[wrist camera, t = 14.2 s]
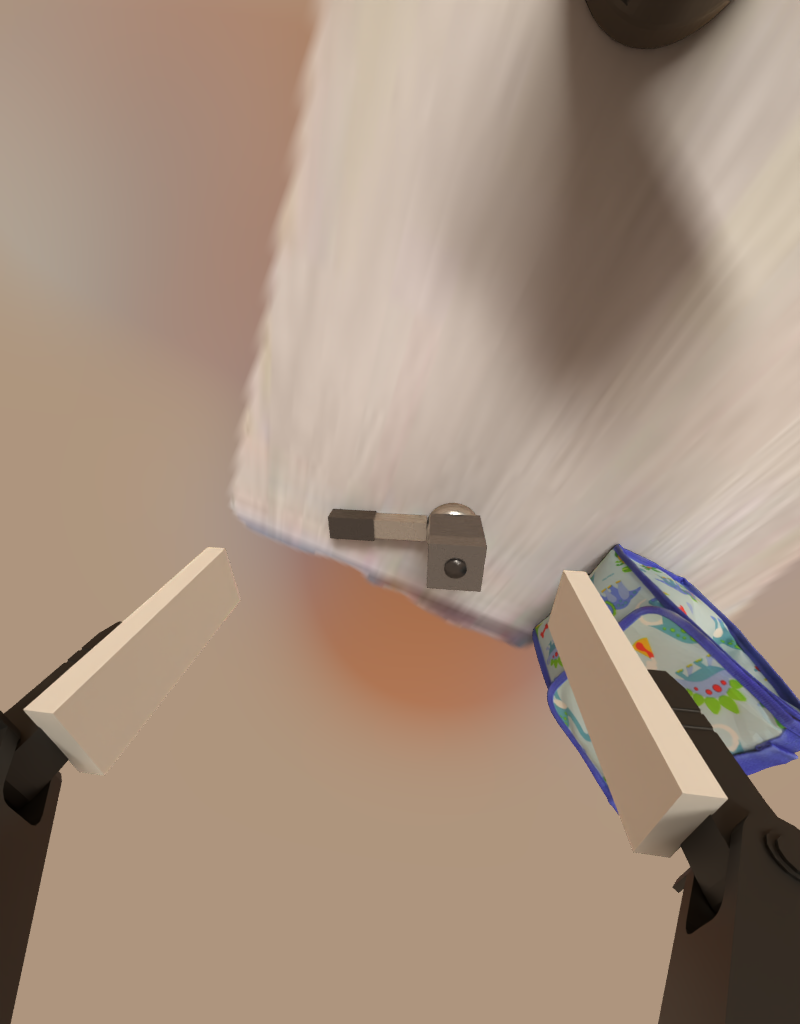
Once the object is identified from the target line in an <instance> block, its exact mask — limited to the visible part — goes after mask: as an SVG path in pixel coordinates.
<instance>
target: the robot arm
mask: <svg viewBox="0 0 800 1024" xmlns="http://www.w3.org/2000/svg"><path fill="white" fill-rule="evenodd" d="M730 1H731V0H586V2H587V4H588V7H589V9H590V11H591V13H592V15H593V17H594V18H595V20H596V21H597V23H598V24H599V25H600V27H601V28H602V29H603V30H604V31H605V32H606V33H607V34H608V35H609V36H610V37H612V38H613V39H615V40H616V41H618V42H620V43H622V44H624V45H627V46H630V47H635V48H656V47H661V46H665V45H668V44H671V43H674V42H676V41H679V40H681V39H683V38H685V37H687V36H689V35H690V34H692V33H694V32H695V31H697V30H698V29H700V28H701V27H702V26H704V25H705V24H706V23H708V22H709V21H710V20H711V19H713V18H714V17H715V16H716V15H717V14H718V13H719V12H720V11H721V10H722V9H723V8H724V7H725V6H726V5H727V4H728V3H729V2H730ZM240 601H241V598H240V595H239V591H238V588H237V585H236V582H235V578H234V575H233V572H232V569H231V565H230V562H229V558H228V555H227V552H226V549H225V548H214V547H207V548H206V549H205V550H204V551H203V552H202V553H201V554H199V555H198V556H197V557H196V558H195V559H194V560H193V561H191V562H190V563H189V564H188V565H187V566H186V567H185V568H183V570H181V571H180V572H179V573H178V574H177V575H176V576H174V577H173V578H172V579H171V580H170V581H169V582H168V583H166V584H165V585H164V586H163V587H162V588H161V589H160V590H158V591H157V592H156V593H155V594H154V595H153V596H152V597H150V599H148V600H147V601H146V602H145V603H144V604H143V605H141V606H140V607H139V608H138V609H137V610H136V611H135V612H133V613H132V614H131V615H130V616H129V617H128V618H127V619H125V620H124V621H123V622H117V623H115V624H114V625H112V626H110V627H109V628H107V629H105V630H104V631H102V632H100V633H99V634H97V635H96V636H95V637H94V638H93V639H91V640H90V641H89V642H88V643H87V644H86V645H84V646H83V647H82V650H81V651H77V652H76V653H75V654H74V655H73V656H72V657H70V658H69V659H68V662H67V663H63V664H62V665H61V666H60V667H59V668H58V669H56V670H55V671H54V672H53V673H52V674H50V675H49V676H48V677H47V678H46V679H45V680H43V681H42V682H41V683H40V684H39V685H38V686H36V687H35V688H34V689H33V690H32V691H30V692H29V693H28V694H27V695H26V696H25V697H23V698H22V699H21V700H20V701H19V702H18V703H16V704H15V705H14V706H13V707H12V708H10V709H9V710H8V711H7V712H5V713H4V714H3V713H2V712H1V711H0V1024H10V1023H11V1019H12V1014H13V1009H14V1005H15V1000H16V995H17V990H18V986H19V981H20V976H21V972H22V966H23V962H24V957H25V953H26V948H27V943H28V938H29V934H30V929H31V924H32V920H33V914H34V910H35V905H36V900H37V895H38V891H39V886H40V882H41V877H42V872H43V868H44V862H45V858H46V853H47V849H48V843H49V839H50V834H51V830H52V825H53V820H54V815H55V811H56V806H57V801H58V797H59V792H60V787H61V782H62V779H61V773H60V772H59V770H60V769H61V768H62V767H63V765H64V764H65V763H66V762H67V761H68V760H69V761H70V762H71V764H72V765H73V766H74V767H75V768H76V769H77V770H78V771H79V772H84V773H91V774H97V775H106V774H107V772H108V771H109V770H110V768H111V767H112V766H113V764H114V763H115V762H116V761H117V759H118V758H119V757H120V755H121V754H122V753H123V752H124V750H125V749H126V748H127V746H128V745H129V743H131V741H132V740H133V739H134V737H135V736H136V735H137V733H138V732H139V731H140V729H141V728H142V727H143V726H144V724H145V723H146V722H147V721H148V719H149V718H150V717H151V715H152V714H153V713H154V712H155V710H156V709H157V708H158V706H159V705H160V704H161V703H162V701H163V700H164V699H165V697H166V696H167V695H168V694H169V692H170V691H171V690H172V688H173V687H174V686H175V684H176V683H177V682H178V681H179V679H180V678H181V677H182V675H183V674H184V672H186V670H187V669H188V668H189V666H190V665H191V664H192V662H193V661H194V660H195V659H196V657H197V656H198V655H199V653H200V652H201V651H202V650H203V648H204V647H205V646H206V644H207V643H208V642H209V641H210V639H211V638H212V637H213V635H214V634H215V633H216V632H217V630H218V629H219V628H220V626H221V625H222V624H223V622H224V621H225V620H226V619H227V617H228V616H229V615H230V613H231V612H232V611H233V610H234V608H235V607H236V606H237V604H238V603H239V602H240ZM548 627H549V630H550V633H551V635H552V638H553V641H554V643H555V646H556V649H557V651H558V654H559V657H560V659H561V662H562V664H563V667H564V670H565V672H566V675H567V678H568V680H569V683H570V686H571V688H572V691H573V694H574V696H575V699H576V702H577V704H578V707H579V710H580V712H581V715H582V718H583V720H584V723H585V726H586V728H587V731H588V734H589V736H590V739H591V742H592V744H593V747H594V750H595V752H596V755H597V757H598V760H599V763H600V765H601V768H602V771H603V773H604V776H605V779H606V781H607V784H608V787H609V789H610V792H611V795H612V797H613V800H614V803H615V805H616V808H617V811H618V813H619V816H620V819H621V821H622V824H623V827H624V829H625V832H626V835H627V837H628V840H629V842H630V845H631V848H632V851H633V852H635V853H641V854H649V855H655V856H662V857H671V856H672V855H673V854H674V853H675V852H676V851H677V850H678V849H679V848H680V847H681V848H682V850H683V852H684V854H685V856H686V858H687V860H688V862H689V864H690V868H689V869H688V870H687V871H686V872H685V873H684V874H682V875H681V876H680V877H679V878H678V879H677V880H676V882H675V884H674V886H673V888H674V889H675V890H676V891H677V892H678V893H679V892H680V891H682V889H684V891H683V896H682V901H681V907H680V912H679V917H678V923H677V928H676V933H675V939H674V943H673V949H672V954H671V959H670V965H669V970H668V975H667V980H666V985H665V991H664V996H663V1001H662V1006H661V1011H660V1017H659V1022H658V1024H800V830H799V829H797V828H796V827H795V826H793V825H791V824H789V823H788V822H786V821H784V820H782V819H780V818H778V817H777V816H776V815H775V813H774V812H773V811H772V809H771V808H770V807H769V806H768V805H767V803H766V802H765V800H764V799H763V798H762V796H761V795H760V793H759V792H758V791H757V789H756V788H755V786H754V785H753V784H752V782H751V781H750V779H749V778H748V776H747V775H746V774H745V772H744V771H743V769H742V768H741V766H740V765H739V764H738V762H737V761H736V759H735V758H734V756H733V755H732V754H731V752H730V751H729V749H728V748H727V747H726V745H725V744H724V742H723V741H722V739H721V738H720V737H719V735H718V734H717V732H714V731H713V727H712V725H711V724H710V722H709V721H708V720H707V718H706V717H705V715H704V714H701V710H700V708H699V707H698V705H697V704H696V703H695V701H694V700H693V698H692V697H691V696H690V694H689V693H688V691H687V690H686V689H685V688H684V687H683V686H682V685H681V684H680V683H679V682H677V681H676V680H675V679H674V678H673V677H672V676H671V675H670V674H669V673H667V672H666V671H661V670H650V669H646V667H645V666H644V664H643V662H642V661H641V659H640V658H639V656H638V654H637V653H636V651H635V650H634V648H633V647H632V645H631V643H630V642H629V640H628V639H627V637H626V635H625V634H624V632H623V631H622V629H621V627H620V626H619V624H618V623H617V621H616V619H615V618H614V616H613V615H612V613H611V611H610V610H609V608H608V607H607V605H606V604H605V602H604V600H603V599H602V597H601V596H600V594H599V592H598V591H597V589H596V588H595V586H594V584H593V583H592V581H591V580H590V578H589V576H588V575H587V573H586V572H583V571H567V570H563V573H562V577H561V580H560V584H559V587H558V591H557V594H556V598H555V601H554V605H553V608H552V611H551V615H550V618H549V622H548Z"/></svg>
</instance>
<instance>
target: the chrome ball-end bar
mask: <svg viewBox="0 0 800 1024" xmlns="http://www.w3.org/2000/svg"><path fill="white" fill-rule="evenodd" d="M432 513H437V514H457V515H475V513H474V512H473V511H472V510H471V509H470V508H468V507H467V506H465V505H462V504H458V503H448V504H444V505H441V506H439V507H437V508H436V509H435V510H433V511H432ZM328 521H329V530H330V538H335V539H352V540H368V541H374V540H375V538H379V539H396V540H412V541H426V539H427V543H428V545H429V531H430V516H429V518H428V520H427V516H425V515H406V514H387V513H376V511H361V510H342V509H333V510H332V512H331V513H330V515H329V516H328Z"/></svg>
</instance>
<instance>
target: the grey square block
mask: <svg viewBox="0 0 800 1024" xmlns="http://www.w3.org/2000/svg"><path fill="white" fill-rule="evenodd" d="M486 550H487V545H486V540H485V536H484V532H483V527H482V523H481V518H480V516H477V515H457V514H437V513H431V514H430V531H429V549H428V571H427V588H436V589H450V590H464V591H478V592H480V591H481V584H482V577H483V571H484V564H485V557H486Z"/></svg>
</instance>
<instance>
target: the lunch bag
mask: <svg viewBox="0 0 800 1024" xmlns="http://www.w3.org/2000/svg"><path fill="white" fill-rule="evenodd" d="M589 578H590V580H591V581H592V583H593V584H594V586H595V588H596V589H597V591H598V592H599V594H600V596H601V597H602V599H603V600H604V602H605V604H606V605H607V607H608V608H609V610H610V611H611V613H612V615H613V616H614V618H615V619H616V621H617V623H618V624H619V626H620V627H621V629H622V631H623V632H624V634H625V635H626V637H627V639H628V640H629V642H630V643H631V645H632V647H633V648H634V650H635V651H636V653H637V654H638V656H639V658H640V659H641V661H642V662H643V664H644V666H645V667H646V669H650V670H661V671H666V672H667V673H669V674H670V675H671V676H672V677H673V678H674V679H675V680H676V681H677V682H679V683H680V684H681V685H682V686H683V687H684V688H685V689H686V690H687V691H688V693H689V694H690V696H691V697H692V698H693V700H694V701H695V703H696V704H697V705H698V707H699V708H700V710H701V714H704V715H705V717H706V718H707V720H708V721H709V722H710V724H711V725H712V727H713V731H714V732H717V734H718V735H719V737H720V738H721V739H722V741H723V742H724V744H725V745H726V747H727V748H728V749H729V751H730V752H731V754H732V755H733V756H734V758H735V759H736V761H737V762H738V764H739V765H740V766H741V768H742V769H743V771H744V772H745V774H746V775H747V776H748V775H750V774H753V773H756V772H758V771H761V770H763V769H766V768H769V767H772V766H776V765H781V764H786V763H788V762H790V761H791V760H794V759H798V756H797V755H796V754H795V752H798V751H800V701H799V699H798V698H797V697H796V696H795V695H794V693H793V692H792V691H791V689H790V688H789V687H788V686H787V685H786V683H785V682H784V681H783V679H782V678H781V677H780V676H779V675H778V674H777V673H776V672H775V671H774V669H773V668H772V667H771V666H770V665H769V663H768V662H767V661H766V660H765V659H764V658H763V656H762V655H760V653H759V652H758V651H757V650H756V649H755V648H754V647H753V646H752V645H751V643H750V642H749V641H748V640H747V638H746V637H745V636H744V635H743V634H742V632H741V631H740V630H739V629H738V628H737V627H736V626H735V625H734V624H733V623H732V622H731V621H730V620H729V619H728V618H727V617H726V616H725V615H724V614H722V613H721V612H720V611H719V610H718V609H717V608H716V607H715V606H714V605H713V604H712V603H711V602H710V601H709V600H708V599H707V598H706V597H705V596H704V595H702V593H701V592H700V591H699V590H698V589H697V588H695V587H694V586H693V585H692V584H691V583H689V582H688V581H687V580H686V579H685V578H683V577H680V576H677V575H674V574H673V573H671V572H669V571H667V570H665V569H664V568H662V567H661V566H659V565H657V564H656V563H654V562H652V561H650V560H648V559H646V558H644V557H642V556H640V555H638V554H635V553H633V552H631V551H629V550H627V549H624V548H623V547H621V545H620V544H617V545H616V546H615V547H614V548H613V549H612V550H611V551H610V552H609V553H608V554H607V556H606V557H605V558H604V559H603V560H602V562H601V563H600V564H599V565H598V566H597V567H596V569H595V570H594V571H593V572H592V573H591V574H590V575H589ZM550 615H551V614H550ZM550 615H549V616H548V617H547V618H546V619H544V620H543V621H542V622H541V623H540V624H538V625H537V626H536V627H535V629H533V634H532V636H533V642H534V647H535V650H536V654H537V658H538V661H539V664H540V668H541V671H542V674H543V677H544V680H545V683H546V685H547V688H548V692H547V701H548V705H549V707H550V710H551V713H552V714H553V716H554V718H555V719H556V721H557V723H558V724H559V725H560V727H561V728H562V730H563V731H564V732H565V734H566V735H567V736H568V738H569V739H570V740H571V742H572V743H573V744H574V746H575V747H576V749H577V750H578V752H579V753H580V755H581V756H582V758H583V759H584V761H585V763H586V764H587V766H588V767H589V769H590V771H591V772H592V774H593V776H594V777H595V779H596V781H597V783H598V784H599V786H600V787H601V789H602V790H603V792H604V794H605V795H606V797H607V799H608V802H609V803H610V805H612V806H613V808H614V809H615V811H616V812H617V813H618V811H617V808H616V805H615V803H614V800H613V797H612V795H611V792H610V789H609V787H608V784H607V781H606V779H605V776H604V773H603V771H602V768H601V765H600V763H599V760H598V757H597V755H596V752H595V750H594V747H593V744H592V742H591V739H590V736H589V734H588V731H587V728H586V726H585V723H584V720H583V718H582V715H581V712H580V710H579V707H578V704H577V702H576V699H575V696H574V694H573V691H572V688H571V686H570V683H569V680H568V678H567V675H566V672H565V670H564V667H563V664H562V662H561V659H560V657H559V654H558V651H557V649H556V646H555V643H554V641H553V638H552V635H551V633H550V630H549V627H548V622H549V618H550ZM618 815H619V813H618Z"/></svg>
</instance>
